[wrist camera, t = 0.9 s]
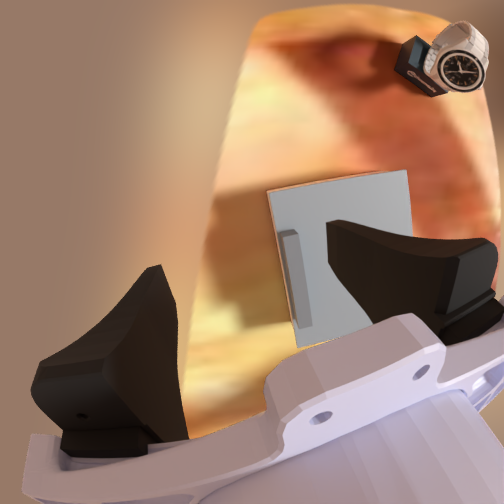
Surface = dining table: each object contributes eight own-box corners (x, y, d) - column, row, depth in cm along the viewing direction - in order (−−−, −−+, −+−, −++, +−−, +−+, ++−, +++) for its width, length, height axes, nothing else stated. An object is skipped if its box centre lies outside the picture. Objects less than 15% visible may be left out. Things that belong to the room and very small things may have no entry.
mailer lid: (410, 312, 27) (421, 322, 24) (296, 345, 27) (301, 359, 25) (403, 169, 23) (417, 170, 20) (268, 192, 23) (271, 195, 21)
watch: (389, 83, 24) (452, 55, 14) (405, 34, 22) (460, -1, 12) (428, 111, 25) (496, 98, 15) (441, 61, 23) (501, 39, 13)
